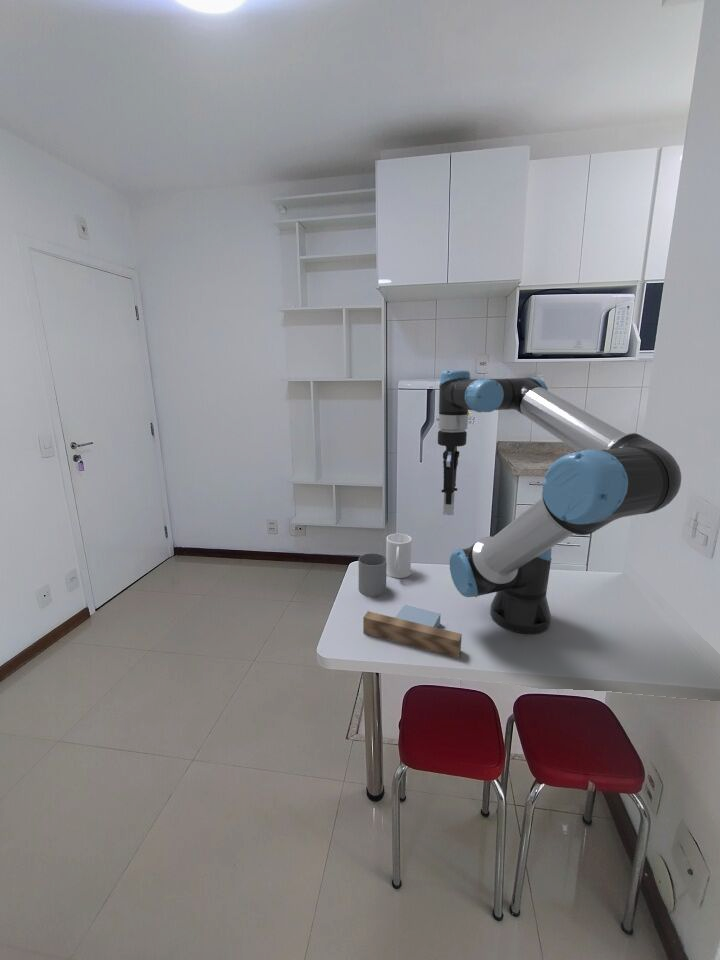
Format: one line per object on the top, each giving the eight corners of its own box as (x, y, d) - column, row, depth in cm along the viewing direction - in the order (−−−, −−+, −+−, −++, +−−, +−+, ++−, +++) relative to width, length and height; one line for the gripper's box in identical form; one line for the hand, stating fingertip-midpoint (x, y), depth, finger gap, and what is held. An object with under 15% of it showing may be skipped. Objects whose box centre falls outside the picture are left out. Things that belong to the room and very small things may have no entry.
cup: (356, 595, 126) (356, 564, 123) (360, 581, 133) (360, 552, 131) (384, 597, 124) (385, 566, 122) (387, 583, 132) (388, 554, 129)
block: (439, 625, 112) (440, 613, 111) (430, 642, 105) (431, 630, 104) (404, 615, 116) (404, 604, 115) (393, 631, 109) (393, 619, 108)
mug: (408, 584, 131) (409, 549, 128) (381, 581, 133) (381, 546, 130) (412, 567, 142) (413, 534, 139) (387, 564, 144) (388, 532, 141)
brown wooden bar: (460, 650, 101) (461, 633, 100) (458, 657, 99) (459, 641, 98) (367, 626, 111) (367, 611, 109) (363, 632, 108) (363, 617, 107)
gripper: (441, 426, 120) (438, 505, 126) (434, 433, 108) (431, 520, 114) (468, 427, 118) (464, 508, 124) (464, 434, 106) (459, 523, 112)
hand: (448, 514), depth 119 cm, fingers closed
